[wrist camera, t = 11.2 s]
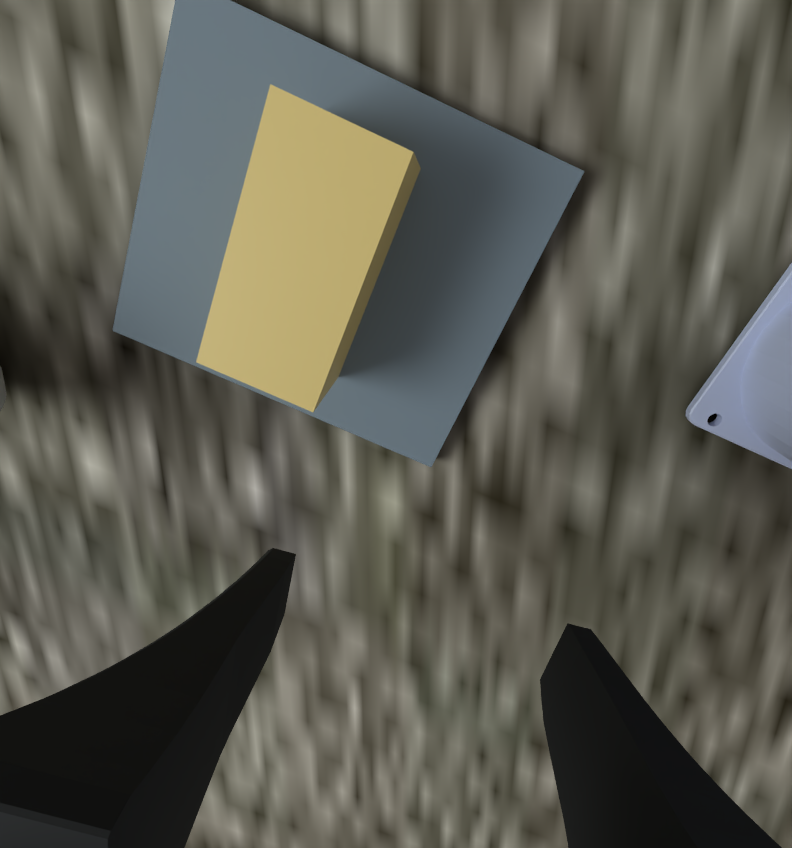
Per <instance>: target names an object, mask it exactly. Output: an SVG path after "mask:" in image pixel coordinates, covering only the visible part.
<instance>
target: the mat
mask: <svg viewBox="0 0 792 848" xmlns="http://www.w3.org/2000/svg"><path fill="white" fill-rule="evenodd" d="M270 84H271V85H273V86H275V87H278V88H280V89H282V90H284V91H286V92H288V93H290V94H292V95H294V96H297V97H299V98H301V99H303V100H305V101H307V102H309V103H311V104H313V105H316V106H318V107H320V108H322V109H324V110H326V111H328V112H330V113H332V114H335V115H337V116H339V117H341V118H343V119H345V120H347V121H349V122H351V123H354V124H356V125H358V126H360V127H362V128H364V129H366V130H368V131H370V132H373V133H375V134H377V135H379V136H381V137H383V138H385V139H387V140H389V141H392V142H394V143H396V144H398V145H400V146H402V147H404V148H406V149H408V150H411V151H413V152H414V154H415V156H416V159H417V161H418V163H419V165H420V168H421V169H420V172H419V174H418V177H417V179H416V182H415V185H414V187H413V190H412V192H411V195H410V197H409V200H408V202H407V205H406V207H405V210H404V212H403V215H402V217H401V220H400V222H399V225H398V228H397V230H396V233H395V235H394V238H393V240H392V243H391V245H390V248H389V250H388V253H387V255H386V258H385V260H384V263H383V265H382V268H381V271H380V273H379V276H378V278H377V281H376V283H375V286H374V288H373V291H372V293H371V296H370V298H369V301H368V303H367V306H366V308H365V311H364V314H363V316H362V319H361V321H360V324H359V326H358V329H357V331H356V334H355V336H354V339H353V341H352V344H351V346H350V349H349V351H348V354H347V357H346V359H345V362H344V364H343V367H342V369H341V372H340V374H339V377H338V378H337V380H336V381H335V383H334V384H333V385H332V387H331V388H330V390H329V391H328V392H327V394H326V395H325V397H324V398H323V399H322V401H321V402H320V404H319V405H318V406H317V408H316V409H315V411H314V412H311V411H308V410H306V409H304V408H301V407H299V406H297V405H294V404H292V403H290V402H288V401H285V400H283V399H281V398H278V397H276V396H274V395H271V394H269V393H267V392H264V391H262V390H260V389H257V388H255V387H253V386H250V385H248V384H246V383H243V382H241V381H239V380H236V379H234V378H232V377H229V376H227V375H225V374H222V373H220V372H218V371H215V370H213V369H211V368H208V367H206V366H204V365H201V364H199V363H197V362H196V360H197V357H198V353H199V349H200V345H201V342H202V338H203V334H204V330H205V327H206V323H207V319H208V315H209V312H210V308H211V304H212V301H213V297H214V293H215V289H216V286H217V282H218V278H219V274H220V271H221V267H222V263H223V259H224V256H225V252H226V248H227V244H228V241H229V237H230V233H231V229H232V226H233V222H234V218H235V215H236V211H237V207H238V203H239V200H240V196H241V192H242V188H243V185H244V181H245V177H246V173H247V170H248V166H249V162H250V158H251V155H252V151H253V147H254V143H255V140H256V136H257V132H258V129H259V125H260V121H261V117H262V114H263V110H264V106H265V102H266V99H267V95H268V91H269V87H270ZM583 173H584V171H583V170H581V169H579V168H577V167H574V166H572V165H570V164H568V163H566V162H564V161H562V160H560V159H558V158H556V157H554V156H552V155H550V154H548V153H545V152H543V151H541V150H539V149H537V148H535V147H533V146H531V145H529V144H527V143H525V142H523V141H521V140H519V139H517V138H514V137H512V136H510V135H508V134H506V133H504V132H502V131H500V130H498V129H496V128H494V127H492V126H490V125H488V124H485V123H483V122H481V121H479V120H477V119H475V118H473V117H471V116H469V115H467V114H465V113H463V112H461V111H459V110H457V109H454V108H452V107H450V106H448V105H446V104H444V103H442V102H440V101H438V100H436V99H434V98H432V97H430V96H428V95H425V94H423V93H421V92H419V91H417V90H415V89H413V88H411V87H409V86H407V85H405V84H403V83H401V82H399V81H397V80H394V79H392V78H390V77H388V76H386V75H384V74H382V73H380V72H378V71H376V70H374V69H372V68H370V67H368V66H365V65H363V64H361V63H359V62H357V61H355V60H353V59H351V58H349V57H347V56H345V55H343V54H341V53H339V52H336V51H334V50H332V49H330V48H328V47H326V46H324V45H322V44H320V43H318V42H316V41H314V40H312V39H310V38H308V37H305V36H303V35H301V34H299V33H297V32H295V31H293V30H291V29H289V28H287V27H285V26H283V25H281V24H279V23H276V22H274V21H272V20H270V19H268V18H266V17H264V16H262V15H260V14H258V13H256V12H254V11H252V10H250V9H248V8H245V7H243V6H241V5H239V4H237V3H235V2H233V1H231V0H175V5H174V10H173V15H172V21H171V26H170V31H169V36H168V42H167V47H166V52H165V57H164V63H163V68H162V73H161V78H160V84H159V89H158V94H157V99H156V105H155V110H154V115H153V120H152V126H151V131H150V136H149V141H148V147H147V152H146V157H145V162H144V168H143V173H142V178H141V183H140V189H139V194H138V199H137V204H136V210H135V215H134V220H133V225H132V231H131V236H130V241H129V246H128V252H127V257H126V262H125V267H124V273H123V278H122V283H121V288H120V294H119V299H118V304H117V309H116V315H115V320H114V325H113V330H112V331H114V332H117V333H119V334H121V335H124V336H126V337H128V338H131V339H133V340H135V341H138V342H140V343H142V344H145V345H147V346H149V347H152V348H154V349H156V350H159V351H161V352H163V353H166V354H168V355H170V356H173V357H175V358H177V359H180V360H182V361H184V362H187V363H189V364H191V365H194V366H196V367H198V368H201V369H203V370H205V371H208V372H210V373H212V374H215V375H217V376H219V377H222V378H224V379H226V380H229V381H231V382H233V383H236V384H238V385H240V386H243V387H245V388H247V389H250V390H252V391H254V392H257V393H259V394H261V395H264V396H266V397H268V398H271V399H273V400H275V401H278V402H280V403H282V404H285V405H287V406H289V407H292V408H294V409H296V410H299V411H301V412H303V413H306V414H308V415H310V416H313V417H315V418H317V419H320V420H322V421H324V422H327V423H329V424H331V425H334V426H336V427H338V428H341V429H343V430H345V431H348V432H350V433H352V434H355V435H357V436H359V437H362V438H364V439H366V440H369V441H371V442H373V443H376V444H378V445H380V446H383V447H385V448H387V449H390V450H392V451H394V452H397V453H399V454H401V455H404V456H406V457H408V458H411V459H413V460H415V461H418V462H420V463H422V464H425V465H427V466H429V467H432V465H433V463H434V461H435V459H436V457H437V455H438V453H439V451H440V449H441V447H442V445H443V444H444V442H445V440H446V438H447V436H448V434H449V432H450V430H451V428H452V426H453V424H454V422H455V420H456V418H457V416H458V415H459V413H460V411H461V409H462V407H463V405H464V403H465V401H466V399H467V397H468V395H469V393H470V391H471V389H472V388H473V386H474V384H475V382H476V380H477V378H478V376H479V374H480V372H481V370H482V368H483V366H484V364H485V362H486V360H487V359H488V357H489V355H490V353H491V351H492V349H493V347H494V345H495V343H496V341H497V339H498V337H499V335H500V333H501V332H502V330H503V328H504V326H505V324H506V322H507V320H508V318H509V316H510V314H511V312H512V310H513V308H514V306H515V304H516V303H517V301H518V299H519V297H520V295H521V293H522V291H523V289H524V287H525V285H526V283H527V281H528V279H529V277H530V276H531V274H532V272H533V270H534V268H535V266H536V264H537V262H538V260H539V258H540V256H541V254H542V252H543V250H544V248H545V247H546V245H547V243H548V241H549V239H550V237H551V235H552V233H553V231H554V229H555V227H556V225H557V223H558V221H559V220H560V218H561V216H562V214H563V212H564V210H565V208H566V206H567V204H568V202H569V200H570V198H571V196H572V194H573V192H574V191H575V189H576V187H577V185H578V183H579V181H580V179H581V177H582V175H583Z"/></svg>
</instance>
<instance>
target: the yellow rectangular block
mask: <svg viewBox="0 0 792 848" xmlns="http://www.w3.org/2000/svg"><path fill="white" fill-rule="evenodd" d="M420 169H421V168H420V165H419V163H418V161H417V159H416V156H415V154H414V152H413V151H411V150H408V149H406V148H404V147H402V146H400V145H398V144H396V143H394V142H392V141H389V140H387V139H385V138H383V137H381V136H379V135H377V134H375V133H373V132H370V131H368V130H366V129H364V128H362V127H360V126H358V125H356V124H354V123H351V122H349V121H347V120H345V119H343V118H341V117H339V116H337V115H335V114H332V113H330V112H328V111H326V110H324V109H322V108H320V107H318V106H316V105H313V104H311V103H309V102H307V101H305V100H303V99H301V98H299V97H297V96H294V95H292V94H290V93H288V92H286V91H284V90H282V89H280V88H278V87H275V86H273V85H271V84H270V87H269V91H268V95H267V99H266V102H265V106H264V110H263V114H262V117H261V121H260V125H259V129H258V132H257V136H256V140H255V143H254V147H253V151H252V155H251V158H250V162H249V166H248V170H247V173H246V177H245V181H244V185H243V188H242V192H241V196H240V200H239V203H238V207H237V211H236V215H235V218H234V222H233V226H232V229H231V233H230V237H229V241H228V244H227V248H226V252H225V256H224V259H223V263H222V267H221V271H220V274H219V278H218V282H217V286H216V289H215V293H214V297H213V301H212V304H211V308H210V312H209V315H208V319H207V323H206V327H205V330H204V334H203V338H202V342H201V345H200V349H199V353H198V357H197V360H196V362H197V363H199V364H201V365H204V366H206V367H208V368H211V369H213V370H215V371H218V372H220V373H222V374H225V375H227V376H229V377H232V378H234V379H236V380H239V381H241V382H243V383H246V384H248V385H250V386H253V387H255V388H257V389H260V390H262V391H264V392H267V393H269V394H271V395H274V396H276V397H278V398H281V399H283V400H285V401H288V402H290V403H292V404H294V405H297V406H299V407H301V408H304V409H306V410H308V411H311V412H314V411H315V409H316V408H317V406H318V405H319V404H320V402H321V401H322V399H323V398H324V397H325V395H326V394H327V392H328V391H329V390H330V388H331V387H332V385H333V384H334V383H335V381H336V380H337V378H338V377H339V374H340V372H341V369H342V367H343V364H344V362H345V359H346V357H347V354H348V351H349V349H350V346H351V344H352V341H353V339H354V336H355V334H356V331H357V329H358V326H359V324H360V321H361V319H362V316H363V314H364V311H365V308H366V306H367V303H368V301H369V298H370V296H371V293H372V291H373V288H374V286H375V283H376V281H377V278H378V276H379V273H380V271H381V268H382V265H383V263H384V260H385V258H386V255H387V253H388V250H389V248H390V245H391V243H392V240H393V238H394V235H395V233H396V230H397V228H398V225H399V222H400V220H401V217H402V215H403V212H404V210H405V207H406V205H407V202H408V200H409V197H410V195H411V192H412V190H413V187H414V185H415V182H416V179H417V177H418V174H419V172H420Z"/></svg>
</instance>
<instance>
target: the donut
mask: <svg viewBox="0 0 792 848" xmlns="http://www.w3.org/2000/svg"><path fill="white" fill-rule="evenodd" d="M5 399H6V388H5V382H4V378H3V373H2V368H1V366H0V411H1V409H2V408H3V405H4V402H5Z"/></svg>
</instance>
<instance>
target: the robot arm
mask: <svg viewBox="0 0 792 848" xmlns="http://www.w3.org/2000/svg"><path fill="white" fill-rule="evenodd" d="M712 414H717V417H716V419H715V420H714V421H713V422H710V423H708V422H707V420H708V418H709V417H710V416H711V415H712ZM686 417H687V420H689V421H690V422H691V423H692V424H694V425H695V426H697V427H700V428H702V429H704V430H706V431H709V432H711V433H713V434H715V435H717V436H720V437H722V438H724V439H726V440H728V441H731V442H733V443H735V444H737V445H739V446H742V447H744V448H746V449H748V450H751V451H753V452H755V453H757V454H759V455H762V456H764V457H766V458H768V459H770V460H773V461H775V462H777V463H779V464H781V465H784V466H786V467H788V468H790V469H792V263H791V264H790V266H789V267H788V268H787V270H786V271H785V272H784V274H783V275H782V277H781V278H780V279H779V281H778V282H777V284H776V285H775V286H774V288H773V289H772V291H771V292H770V293H769V295H768V296H767V297H766V299H765V300H764V302H763V303H762V304H761V306H760V307H759V309H758V310H757V311H756V313H755V314H754V316H753V317H752V318H751V320H750V321H749V322H748V324H747V325H746V327H745V328H744V329H743V331H742V332H741V334H740V335H739V336H738V338H737V339H736V341H735V342H734V343H733V345H732V346H731V347H730V349H729V350H728V352H727V353H726V354H725V356H724V357H723V359H722V360H721V361H720V363H719V364H718V366H717V367H716V368H715V370H714V371H713V372H712V374H711V375H710V377H709V378H708V379H707V381H706V382H705V384H704V385H703V386H702V388H701V389H700V391H699V392H698V393H697V395H696V396H695V397H694V399H693V400H692V402H691V403H690V404H689V406H688V407H687V410H686ZM295 556H296V554H294V553H290V552H286V551H282V550H278V549H274V548H272V549H270V550H268V551H267V552H266V553H265V554H264V555H263V556H262V557H261V558H260V559H259V560H258V561H257V562H256V563H255V564H254V565H253V566H252V567H251V568H250V569H249V570H248V571H247V572H246V573H245V574H243V575H242V576H241V577H240V578H239V579H238V580H237V581H236V582H234V583H233V584H232V585H231V586H230V587H228V588H227V589H226V590H225V591H224V592H222V593H221V594H220V595H219V596H218V597H216V598H215V599H214V600H213V601H211V602H210V603H209V604H207V605H206V606H205V607H203V608H202V609H201V610H199V611H198V612H197V613H195V614H194V615H193V616H191V617H190V618H189V619H187V620H186V621H185V622H183V623H182V624H180V625H179V626H177V627H176V628H174V629H173V630H171V631H170V632H168V633H167V634H165V635H164V636H162V637H161V638H159V639H157V640H156V641H154V642H153V643H151V644H149V645H148V646H146V647H144V648H143V649H141V650H139V651H137V652H136V653H134V654H132V655H131V656H129V657H127V658H125V659H124V660H122V661H120V662H118V663H116V664H114V665H113V666H111V667H109V668H107V669H105V670H103V671H101V672H99V673H97V674H95V675H93V676H91V677H89V678H87V679H85V680H82V681H80V682H78V683H76V684H74V685H72V686H70V687H68V688H66V689H64V690H62V691H60V692H57V693H55V694H53V695H51V696H48V697H46V698H44V699H41V700H39V701H36V702H34V703H31V704H29V705H26V706H24V707H21V708H18V709H16V710H13V711H11V712H8V713H6V714H3V715H1V716H0V848H184V847H185V845H186V842H187V840H188V837H189V834H190V832H191V829H192V827H193V824H194V821H195V819H196V816H197V814H198V811H199V808H200V806H201V803H202V801H203V798H204V795H205V793H206V790H207V788H208V785H209V783H210V780H211V778H212V775H213V773H214V770H215V767H216V765H217V762H218V760H219V757H220V755H221V753H222V750H223V748H224V746H225V744H226V742H227V739H228V737H229V735H230V733H231V731H232V729H233V727H234V725H235V723H236V721H237V719H238V717H239V715H240V713H241V711H242V709H243V707H244V705H245V703H246V701H247V699H248V696H249V694H250V692H251V690H252V688H253V686H254V684H255V682H256V680H257V678H258V676H259V674H260V672H261V670H262V668H263V666H264V664H265V662H266V660H267V658H268V656H269V654H270V652H271V649H272V646H273V644H274V641H275V638H276V636H277V633H278V630H279V627H280V625H281V622H282V619H283V616H284V613H285V608H286V603H287V598H288V592H289V587H290V582H291V577H292V571H293V566H294V561H295ZM540 684H541V698H542V710H543V720H544V726H545V731H546V736H547V741H548V746H549V751H550V756H551V761H552V766H553V770H554V775H555V780H556V785H557V790H558V794H559V799H560V804H561V809H562V813H563V818H564V823H565V829H566V835H567V841H568V847H569V848H781V847H780V846H779V845H778V844H777V843H776V842H775V841H774V840H773V839H772V838H771V837H770V836H769V835H768V834H767V833H766V832H764V831H763V830H762V829H761V828H760V827H759V826H758V825H757V824H756V823H755V822H754V821H753V820H752V819H751V818H750V817H749V816H748V815H747V814H746V813H745V812H744V811H743V810H742V809H741V808H740V807H739V806H738V805H737V804H736V803H735V802H734V801H733V800H732V799H731V798H730V797H729V796H728V795H727V794H726V793H725V792H724V791H723V790H722V789H721V788H720V787H719V786H718V785H717V784H716V783H715V782H714V781H713V779H712V778H711V777H710V776H709V775H708V774H707V773H706V772H705V771H704V770H703V769H702V768H701V767H700V766H699V765H698V763H697V762H696V761H695V760H694V759H693V758H692V757H691V756H690V754H689V753H688V752H687V751H686V750H685V749H684V748H683V746H682V745H681V744H680V743H679V742H678V740H677V739H676V738H675V737H674V736H673V734H672V733H671V732H670V731H669V730H668V729H667V727H666V726H665V725H664V724H663V723H662V721H661V720H660V719H659V718H658V716H657V715H656V714H655V713H654V711H653V710H652V709H651V708H650V706H649V705H648V704H647V702H646V701H645V700H644V699H643V697H642V696H641V695H640V693H639V692H638V691H637V690H636V688H635V687H634V686H633V684H632V683H631V682H630V680H629V679H628V678H627V676H626V675H625V674H624V672H623V671H622V670H621V668H620V667H619V666H618V664H617V663H616V662H615V660H614V659H613V658H612V656H611V655H610V654H609V652H608V651H607V650H606V648H605V647H604V646H603V644H602V643H601V642H600V640H599V639H598V638H597V637H596V635H595V634H594V633H593V632H592V630H591V629H587V628H583V627H579V626H575V625H571V624H567V626H566V628H565V630H564V632H563V634H562V636H561V638H560V640H559V642H558V644H557V646H556V648H555V650H554V652H553V654H552V656H551V658H550V660H549V662H548V664H547V667H546V669H545V671H544V673H543V675H542V677H541V679H540Z"/></svg>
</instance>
